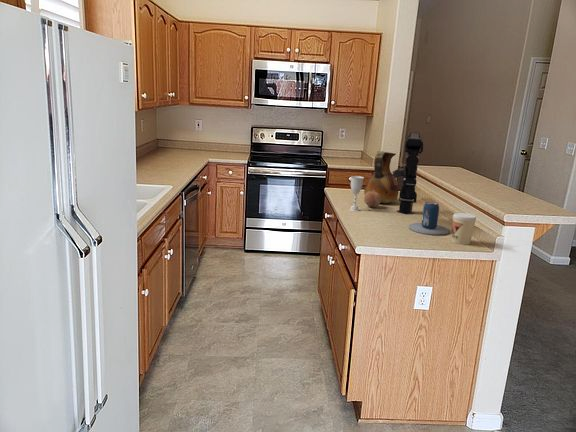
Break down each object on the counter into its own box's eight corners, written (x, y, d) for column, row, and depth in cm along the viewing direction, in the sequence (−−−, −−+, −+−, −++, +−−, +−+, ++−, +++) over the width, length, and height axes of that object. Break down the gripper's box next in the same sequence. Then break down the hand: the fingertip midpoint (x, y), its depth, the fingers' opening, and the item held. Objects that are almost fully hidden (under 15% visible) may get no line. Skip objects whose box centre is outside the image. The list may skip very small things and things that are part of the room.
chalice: (362, 209, 252) (365, 176, 247) (359, 212, 245) (362, 178, 241) (348, 207, 254) (351, 175, 250) (346, 210, 248) (349, 177, 243)
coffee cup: (445, 238, 205) (449, 212, 202) (466, 239, 205) (470, 212, 203) (455, 245, 196) (459, 217, 193) (476, 245, 196) (480, 218, 194)
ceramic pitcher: (401, 201, 278) (407, 151, 270) (390, 207, 261) (395, 154, 254) (371, 196, 287) (376, 148, 280) (358, 201, 271) (362, 150, 264)
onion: (362, 205, 263) (363, 187, 261) (378, 206, 263) (380, 188, 260) (364, 208, 254) (366, 191, 251) (381, 209, 254) (383, 191, 251)
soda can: (436, 226, 219) (439, 202, 217) (436, 230, 213) (440, 205, 210) (421, 225, 221) (424, 200, 218) (421, 228, 215) (424, 203, 212)
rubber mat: (427, 223, 229) (428, 221, 229) (457, 233, 214) (457, 231, 214) (400, 226, 220) (401, 224, 220) (429, 237, 205) (429, 235, 205)
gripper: (395, 160, 235) (391, 190, 239) (393, 165, 218) (390, 197, 221) (417, 162, 233) (414, 193, 236) (418, 167, 215) (414, 200, 219)
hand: (407, 195), depth 228 cm, fingers open, 9 cm apart
